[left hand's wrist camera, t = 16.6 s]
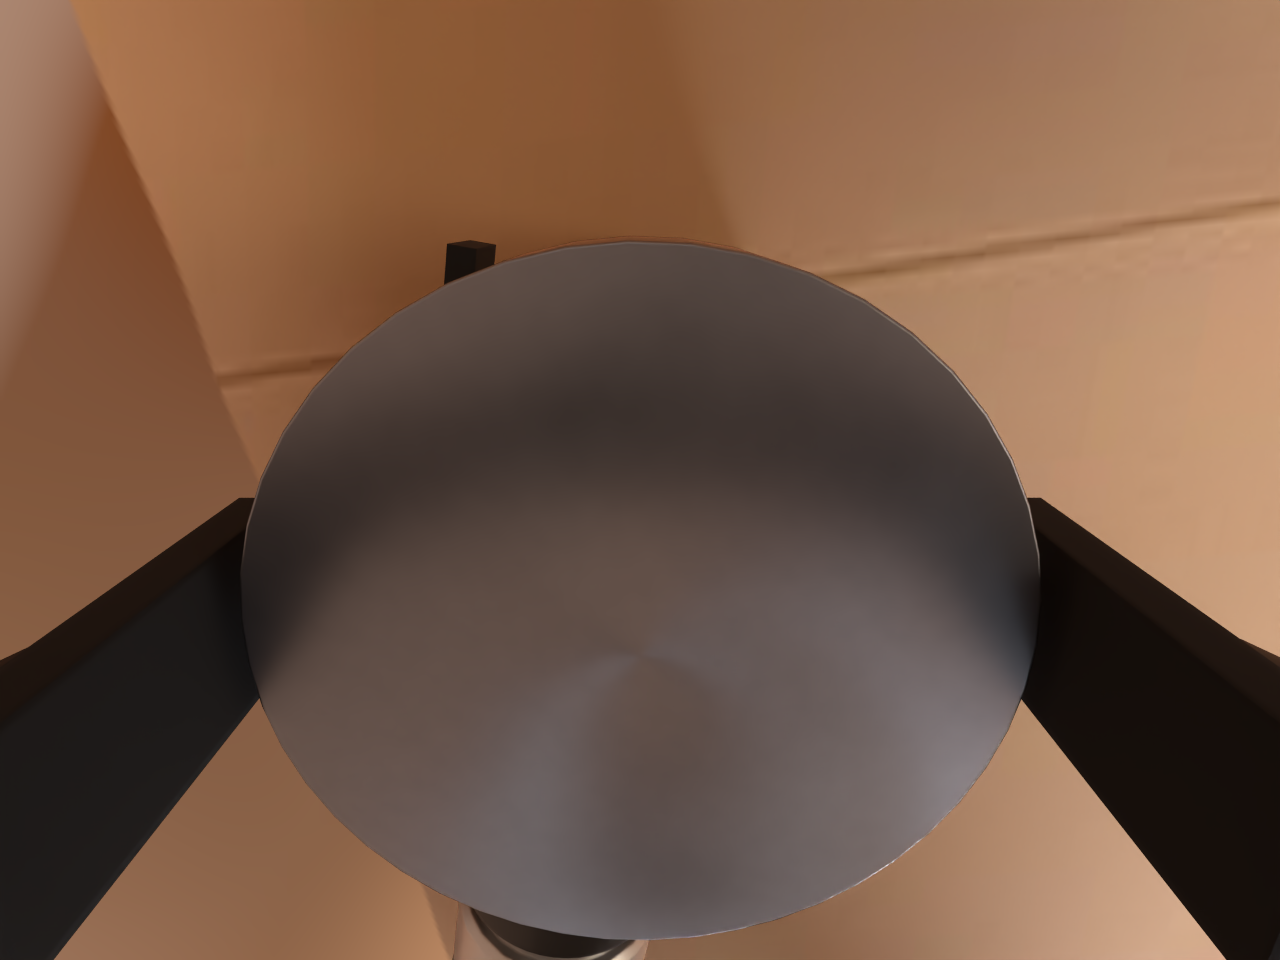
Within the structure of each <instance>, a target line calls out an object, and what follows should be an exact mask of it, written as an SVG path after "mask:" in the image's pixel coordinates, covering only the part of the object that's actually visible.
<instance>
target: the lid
mask: <svg viewBox="0 0 1280 960" xmlns="http://www.w3.org/2000/svg"><path fill="white" fill-rule="evenodd" d="M240 589H241V622H242V628H243V634H244V640H245V646H246V651H247V657H248V663H249V667H250V670H251V673H252V676H253V679H254V682H255V685H256V688H257V692H258V695H259V698H260V701H261V704H262V707H263V709H264V711H265V713H266V715H267V717H268V719H269V721H270V723H271V725H272V728H273V730H274V732H275V734H276V736H277V738H278V740H279V742H280V744H281V746H282V748H283V749H284V751H285V752H286V754H287V755H288V757H289V758H290V760H291V761H292V763H293V764H294V766H295V767H296V769H297V770H298V772H299V773H300V775H301V776H302V778H303V779H304V781H305V783H306V784H307V785H308V786H309V787H310V789H311V790H312V791H313V792H314V793H315V794H316V796H317V797H318V798H319V799H320V800H321V801H322V802H323V804H324V805H325V806H326V807H327V808H328V809H329V811H330V812H331V813H332V814H333V815H334V816H335V817H336V818H337V819H338V820H339V821H340V822H341V823H342V824H343V825H344V826H345V827H347V828H348V829H349V830H350V831H351V832H352V833H353V834H354V835H355V836H356V837H357V838H359V839H360V840H361V841H362V842H363V843H364V844H365V845H366V846H367V847H369V848H370V849H372V850H373V851H374V852H376V853H377V854H378V855H380V856H381V857H383V858H384V859H385V860H387V861H388V862H389V863H391V864H392V865H394V866H395V867H396V868H398V869H399V870H400V871H402V872H404V873H405V874H407V875H409V876H411V877H412V878H414V879H416V880H417V881H419V882H421V883H423V884H424V885H426V886H428V887H430V888H431V889H433V890H435V891H437V892H438V893H440V894H443V895H445V896H447V897H449V898H452V899H454V900H456V901H458V902H461V903H463V904H465V905H467V906H470V907H472V908H474V909H477V910H479V911H482V912H485V913H488V914H491V915H494V916H497V917H500V918H503V919H506V920H509V921H512V922H515V923H518V924H522V925H526V926H531V927H535V928H540V929H544V930H549V931H553V932H558V933H562V934H570V935H578V936H586V937H594V938H602V939H626V940H659V939H674V938H689V937H697V936H704V935H710V934H716V933H722V932H728V931H734V930H739V929H742V928H746V927H750V926H754V925H757V924H761V923H765V922H769V921H773V920H776V919H779V918H782V917H785V916H787V915H790V914H793V913H796V912H798V911H801V910H804V909H806V908H809V907H812V906H814V905H817V904H819V903H821V902H823V901H825V900H827V899H829V898H831V897H834V896H836V895H838V894H840V893H842V892H844V891H846V890H848V889H850V888H852V887H854V886H856V885H858V884H859V883H861V882H862V881H864V880H866V879H867V878H869V877H870V876H872V875H873V874H875V873H877V872H878V871H880V870H881V869H883V868H885V867H886V866H888V865H889V864H891V863H892V862H894V861H895V860H897V859H898V858H899V857H900V856H902V855H903V854H904V853H905V852H907V851H908V850H909V849H910V848H912V847H913V846H914V845H915V844H917V843H918V842H919V841H920V840H922V839H923V838H924V837H925V836H927V835H928V834H929V833H930V832H931V831H932V830H933V829H934V828H935V827H936V826H937V825H938V824H939V823H940V822H941V821H942V820H943V819H944V818H945V817H946V816H947V815H948V814H949V813H950V812H951V811H952V810H953V809H954V808H955V807H956V806H957V805H958V804H959V802H960V801H961V800H962V799H963V797H964V796H965V795H966V793H967V792H968V791H969V789H970V788H971V787H972V786H973V784H974V783H975V782H976V780H977V779H978V778H979V777H980V775H981V774H982V773H983V771H984V770H985V769H986V767H987V765H988V764H989V762H990V760H991V759H992V757H993V755H994V754H995V752H996V750H997V748H998V747H999V745H1000V743H1001V742H1002V740H1003V738H1004V737H1005V735H1006V733H1007V731H1008V729H1009V727H1010V725H1011V722H1012V720H1013V717H1014V715H1015V713H1016V710H1017V708H1018V705H1019V703H1020V701H1021V698H1022V696H1023V694H1024V691H1025V688H1026V684H1027V681H1028V677H1029V673H1030V669H1031V665H1032V661H1033V658H1034V654H1035V650H1036V646H1037V637H1038V627H1039V618H1040V609H1041V580H1040V557H1039V549H1038V544H1037V539H1036V534H1035V530H1034V525H1033V520H1032V515H1031V510H1030V505H1029V502H1028V500H1027V497H1026V494H1025V491H1024V489H1023V486H1022V483H1021V481H1020V478H1019V475H1018V473H1017V470H1016V467H1015V465H1014V462H1013V459H1012V457H1011V455H1010V454H1009V452H1008V450H1007V448H1006V446H1005V445H1004V443H1003V441H1002V439H1001V438H1000V436H999V434H998V432H997V430H996V429H995V427H994V425H993V423H992V422H991V420H990V418H989V416H988V414H987V413H986V412H985V410H984V409H983V408H982V406H981V405H980V404H979V403H978V401H977V400H976V399H975V398H974V396H973V395H972V394H971V392H970V391H969V390H968V389H967V387H966V386H965V385H964V384H963V382H962V381H961V380H960V378H959V377H958V376H957V375H956V373H955V372H954V371H953V370H952V369H951V368H950V367H949V366H948V365H947V364H946V363H945V362H944V361H942V360H941V359H940V358H939V357H938V356H937V355H936V354H935V353H934V352H933V351H932V350H931V349H930V348H929V347H928V346H926V345H925V344H924V343H923V342H922V341H921V340H920V339H919V338H918V337H917V336H916V335H915V334H914V333H913V332H911V331H910V330H908V329H907V328H905V327H904V326H902V325H901V324H900V323H898V322H897V321H895V320H894V319H892V318H891V317H889V316H888V315H886V314H885V313H884V312H882V311H881V310H879V309H878V308H876V307H875V306H873V305H872V304H871V303H869V302H868V301H866V300H865V299H863V298H861V297H859V296H857V295H855V294H853V293H851V292H849V291H847V290H845V289H843V288H841V287H839V286H837V285H834V284H832V283H830V282H828V281H826V280H824V279H822V278H820V277H818V276H816V275H814V274H812V273H810V272H807V271H804V270H801V269H798V268H795V267H792V266H790V265H787V264H784V263H781V262H778V261H775V260H772V259H768V258H765V257H762V256H759V255H756V254H753V253H750V252H747V251H744V250H741V249H738V248H735V247H730V246H724V245H718V244H713V243H707V242H702V241H696V240H691V239H685V238H669V237H644V236H624V237H613V238H603V239H593V240H583V241H575V242H571V243H567V244H562V245H558V246H554V247H550V248H546V249H542V250H538V251H533V252H529V253H525V254H522V255H519V256H516V257H513V258H511V259H508V260H505V261H502V262H500V263H497V264H495V265H492V266H489V267H487V268H484V269H482V270H479V271H477V272H474V273H472V274H469V275H467V276H464V277H462V278H459V279H457V280H454V281H451V282H449V283H447V284H445V285H443V286H442V287H440V288H438V289H436V290H435V291H433V292H431V293H429V294H428V295H426V296H424V297H422V298H421V299H419V300H417V301H415V302H414V303H412V304H410V305H408V306H407V307H405V308H403V309H401V310H400V311H398V312H396V313H395V314H393V315H392V316H391V317H390V318H388V319H387V320H386V321H385V322H383V323H382V324H381V325H379V326H378V327H377V328H376V329H374V330H373V331H372V332H371V333H369V334H368V335H367V336H365V337H364V338H363V339H362V340H360V341H359V342H358V343H357V344H355V345H354V346H353V347H351V348H350V349H349V350H348V352H347V353H346V354H345V355H344V356H343V357H342V358H341V359H340V360H339V361H338V362H337V363H336V364H335V365H334V366H333V367H332V369H331V370H330V371H329V372H328V373H327V374H326V375H325V376H324V377H323V378H322V379H321V380H320V381H319V382H318V383H317V384H316V385H315V387H314V388H313V389H312V390H311V392H310V393H309V395H308V396H307V398H306V399H305V401H304V402H303V403H302V405H301V406H300V408H299V409H298V411H297V412H296V414H295V415H294V417H293V418H292V419H291V421H290V422H289V424H288V425H287V427H286V428H285V430H284V431H283V433H282V435H281V437H280V439H279V441H278V443H277V445H276V447H275V449H274V452H273V454H272V456H271V458H270V460H269V462H268V464H267V466H266V468H265V470H264V472H263V474H262V477H261V479H260V482H259V486H258V489H257V493H256V496H255V499H254V503H253V506H252V509H251V513H250V516H249V519H248V523H247V527H246V534H245V542H244V549H243V556H242V564H241V571H240Z"/></svg>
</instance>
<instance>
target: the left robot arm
mask: <svg viewBox="0 0 1280 960" xmlns="http://www.w3.org/2000/svg"><path fill="white" fill-rule="evenodd" d="M254 499H255V498H238V499H237V500H236V501H234V502H233V503H231V504H230V505H229V506H227V507H226V508H224V509H223V510H222V511H220V512H219V513H217V514H216V515H214V516H213V517H212V518H210V519H209V520H207V521H206V522H205V523H203V524H202V525H200V526H199V527H198V528H196V529H195V530H193V531H192V532H190V533H189V534H188V535H186V536H185V537H183V538H182V539H181V540H179V541H178V542H176V543H175V544H174V545H172V546H171V547H169V548H168V549H166V550H165V551H164V552H162V553H161V554H159V555H158V556H157V557H155V558H154V559H152V560H151V561H150V562H148V563H147V564H145V565H144V566H143V567H141V568H140V569H138V570H137V571H135V572H134V573H133V574H131V575H130V576H128V577H127V578H125V579H124V580H123V581H121V582H120V583H118V584H117V585H116V586H114V587H113V588H111V589H110V590H109V591H107V592H106V593H104V594H103V595H102V596H100V597H99V598H97V599H96V600H94V601H93V602H92V603H90V604H89V605H87V606H86V607H85V608H83V609H82V610H80V611H79V612H77V613H76V614H75V615H73V616H72V617H70V618H69V619H68V620H66V621H65V622H63V623H62V624H61V625H59V626H58V627H56V628H55V629H53V630H52V631H51V632H49V633H48V634H46V635H45V636H44V637H42V638H41V639H39V640H38V641H36V642H35V643H34V644H32V645H31V646H29V647H28V648H26V649H23V650H21V651H19V652H17V653H15V654H13V655H11V656H9V657H6V658H4V659H2V660H0V960H54V958H55V957H56V956H57V955H58V953H59V952H60V951H61V950H62V948H63V947H64V946H65V944H66V943H67V942H68V941H69V939H70V938H71V937H72V936H73V934H74V933H75V932H76V931H77V929H78V928H79V927H80V925H81V924H82V923H83V922H84V920H85V919H86V918H87V917H88V915H89V914H90V913H91V912H92V910H93V909H94V908H95V906H96V905H97V904H98V903H99V901H100V900H101V899H102V897H103V896H104V895H105V894H106V892H107V891H108V890H109V889H110V887H111V886H112V885H113V883H114V882H115V881H116V880H117V878H118V877H119V876H120V875H121V873H122V872H123V871H124V870H125V868H126V867H127V866H128V864H129V863H130V862H131V861H132V859H133V858H134V857H135V856H136V854H137V853H138V852H139V850H140V849H141V848H142V847H143V845H144V844H145V843H146V842H147V840H148V839H149V838H150V836H151V835H152V834H153V833H154V831H155V830H156V829H157V828H158V826H159V825H160V824H161V822H162V821H163V820H164V819H165V817H166V816H167V815H168V814H169V812H170V811H171V810H172V809H173V807H174V806H175V805H176V803H177V802H178V801H179V800H180V798H181V797H182V796H183V795H184V793H185V792H186V791H187V789H188V788H189V787H190V786H191V784H192V783H193V782H194V780H195V779H196V778H197V777H198V775H199V774H200V773H201V772H202V770H203V769H204V768H205V767H206V765H207V764H208V763H209V761H210V760H211V759H212V758H213V756H214V755H215V754H216V753H217V751H218V750H219V749H220V747H221V746H222V745H223V744H224V742H225V741H226V740H227V739H228V737H229V736H230V735H231V733H232V732H233V731H234V730H235V728H236V727H237V726H238V725H239V723H240V722H241V721H242V719H243V718H244V717H245V716H246V714H247V713H248V712H249V711H250V709H251V708H252V707H253V706H254V704H255V703H256V702H257V700H258V699H259V695H258V692H257V688H256V685H255V682H254V679H253V676H252V673H251V670H250V667H249V663H248V657H247V651H246V646H245V640H244V634H243V628H242V622H241V589H240V571H241V564H242V556H243V549H244V542H245V534H246V527H247V523H248V519H249V516H250V513H251V509H252V506H253V503H254ZM1027 500H1028V502H1029V505H1030V510H1031V515H1032V520H1033V525H1034V530H1035V534H1036V539H1037V544H1038V549H1039V557H1040V580H1041V609H1040V618H1039V627H1038V637H1037V646H1036V650H1035V654H1034V658H1033V661H1032V665H1031V669H1030V673H1029V677H1028V681H1027V684H1026V688H1025V691H1024V694H1023V696H1022V698H1021V699H1022V700H1023V702H1024V703H1025V704H1026V706H1027V707H1028V708H1029V709H1030V711H1031V712H1032V713H1033V714H1034V716H1035V717H1036V718H1037V720H1038V721H1039V722H1040V723H1041V725H1042V726H1043V727H1044V728H1045V730H1046V731H1047V732H1048V734H1049V735H1050V736H1051V737H1052V739H1053V740H1054V741H1055V742H1056V744H1057V745H1058V746H1059V748H1060V749H1061V750H1062V751H1063V753H1064V754H1065V755H1066V756H1067V758H1068V759H1069V760H1070V761H1071V763H1072V764H1073V765H1074V767H1075V768H1076V769H1077V770H1078V772H1079V773H1080V774H1081V775H1082V777H1083V778H1084V779H1085V781H1086V782H1087V783H1088V784H1089V786H1090V787H1091V788H1092V789H1093V791H1094V792H1095V793H1096V795H1097V796H1098V797H1099V798H1100V800H1101V801H1102V802H1103V803H1104V805H1105V806H1106V807H1107V809H1108V810H1109V811H1110V812H1111V814H1112V815H1113V816H1114V817H1115V819H1116V820H1117V821H1118V823H1119V824H1120V825H1121V826H1122V828H1123V829H1124V830H1125V831H1126V833H1127V834H1128V835H1129V836H1130V838H1131V839H1132V840H1133V842H1134V843H1135V844H1136V845H1137V847H1138V848H1139V849H1140V850H1141V852H1142V853H1143V854H1144V856H1145V857H1146V858H1147V859H1148V861H1149V862H1150V863H1151V864H1152V866H1153V867H1154V868H1155V870H1156V871H1157V872H1158V873H1159V875H1160V876H1161V877H1162V878H1163V880H1164V881H1165V882H1166V884H1167V885H1168V886H1169V887H1170V889H1171V890H1172V891H1173V892H1174V894H1175V895H1176V896H1177V898H1178V899H1179V900H1180V901H1181V903H1182V904H1183V905H1184V906H1185V908H1186V909H1187V910H1188V912H1189V913H1190V914H1191V915H1192V917H1193V918H1194V919H1195V920H1196V922H1197V923H1198V924H1199V925H1200V927H1201V928H1202V929H1203V931H1204V932H1205V933H1206V934H1207V936H1208V937H1209V938H1210V939H1211V941H1212V942H1213V943H1214V945H1215V946H1216V947H1217V948H1218V950H1219V951H1220V952H1221V953H1222V955H1223V956H1224V957H1225V959H1226V960H1280V657H1278V656H1276V655H1274V654H1272V653H1270V652H1268V651H1265V650H1263V649H1261V648H1259V647H1257V646H1255V645H1253V644H1250V643H1248V642H1246V641H1244V640H1242V639H1239V638H1238V637H1236V636H1235V635H1234V634H1232V633H1231V632H1229V631H1228V630H1227V629H1225V628H1224V627H1222V626H1221V625H1220V624H1218V623H1217V622H1215V621H1214V620H1212V619H1211V618H1210V617H1208V616H1207V615H1205V614H1204V613H1203V612H1201V611H1200V610H1198V609H1197V608H1195V607H1194V606H1193V605H1191V604H1190V603H1188V602H1187V601H1186V600H1184V599H1183V598H1181V597H1180V596H1179V595H1177V594H1176V593H1174V592H1173V591H1171V590H1170V589H1169V588H1167V587H1166V586H1164V585H1163V584H1162V583H1160V582H1159V581H1157V580H1156V579H1155V578H1153V577H1152V576H1150V575H1149V574H1147V573H1146V572H1145V571H1143V570H1142V569H1140V568H1139V567H1138V566H1136V565H1135V564H1133V563H1132V562H1131V561H1129V560H1128V559H1126V558H1125V557H1123V556H1122V555H1121V554H1119V553H1118V552H1116V551H1115V550H1114V549H1112V548H1111V547H1109V546H1108V545H1107V544H1105V543H1104V542H1102V541H1101V540H1099V539H1098V538H1097V537H1095V536H1094V535H1092V534H1091V533H1090V532H1088V531H1087V530H1085V529H1084V528H1083V527H1081V526H1080V525H1078V524H1077V523H1075V522H1074V521H1073V520H1071V519H1070V518H1068V517H1067V516H1066V515H1064V514H1063V513H1061V512H1060V511H1058V510H1057V509H1056V508H1054V507H1053V506H1051V505H1050V504H1049V503H1047V502H1046V501H1044V500H1043V499H1042V498H1027Z"/></svg>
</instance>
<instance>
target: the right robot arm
mask: <svg viewBox="0 0 1280 960" xmlns="http://www.w3.org/2000/svg"><path fill="white" fill-rule="evenodd" d="M495 250H496V245H494V244H488V243H483V242H477V241H471V240H469V241H463V242H456V243H450V244H447V253H446V266H445V280H444V285H445V284H447V283H449V282H451V281H454V280H457V279H459V278H462V277H464V276H467V275H469V274H472V273H474V272H477V271H479V270H482V269H484V268H487V267H489V266H492V265H494V261H495ZM648 943H649V940H626V939H602V938H594V937H586V936H578V935H570V934H562V933H558V932H553V931H549V930H544V929H540V928H535V927H531V926H526V925H522V924H518V923H515V922H512V921H509V920H506V919H503V918H500V917H497V916H494V915H491V914H488V913H485V912H482V911H479V910H477V909H474V908H472V907H470V906H467V905H465V904H463V903H461V902H458V912H457V923H456V934H455V945H454V955H453V960H644V959H645V955H646V951H647V947H648Z"/></svg>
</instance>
